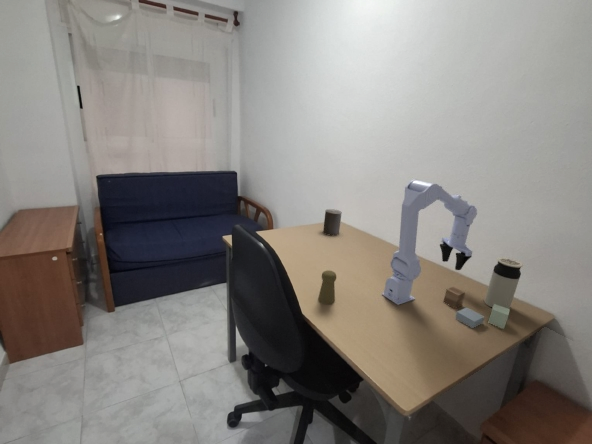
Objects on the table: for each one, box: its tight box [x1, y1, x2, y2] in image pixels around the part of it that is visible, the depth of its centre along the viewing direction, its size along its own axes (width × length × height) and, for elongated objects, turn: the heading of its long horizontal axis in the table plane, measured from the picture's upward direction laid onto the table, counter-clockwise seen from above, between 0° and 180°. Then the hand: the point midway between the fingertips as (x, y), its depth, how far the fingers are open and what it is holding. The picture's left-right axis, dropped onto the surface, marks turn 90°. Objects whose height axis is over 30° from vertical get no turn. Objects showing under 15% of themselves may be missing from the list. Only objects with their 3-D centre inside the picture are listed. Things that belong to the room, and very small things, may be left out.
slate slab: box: [455, 307, 485, 329], centre depth 99 cm, size 6×6×3 cm
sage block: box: [487, 304, 511, 330], centre depth 98 cm, size 4×4×6 cm
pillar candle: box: [322, 208, 343, 236], centre depth 175 cm, size 10×10×15 cm
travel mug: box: [483, 257, 524, 309], centre depth 107 cm, size 8×8×18 cm
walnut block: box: [443, 286, 466, 309], centre depth 108 cm, size 4×4×6 cm
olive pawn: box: [317, 269, 337, 305], centre depth 104 cm, size 6×6×11 cm
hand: (451, 265), depth 118 cm, fingers open, 7 cm apart
